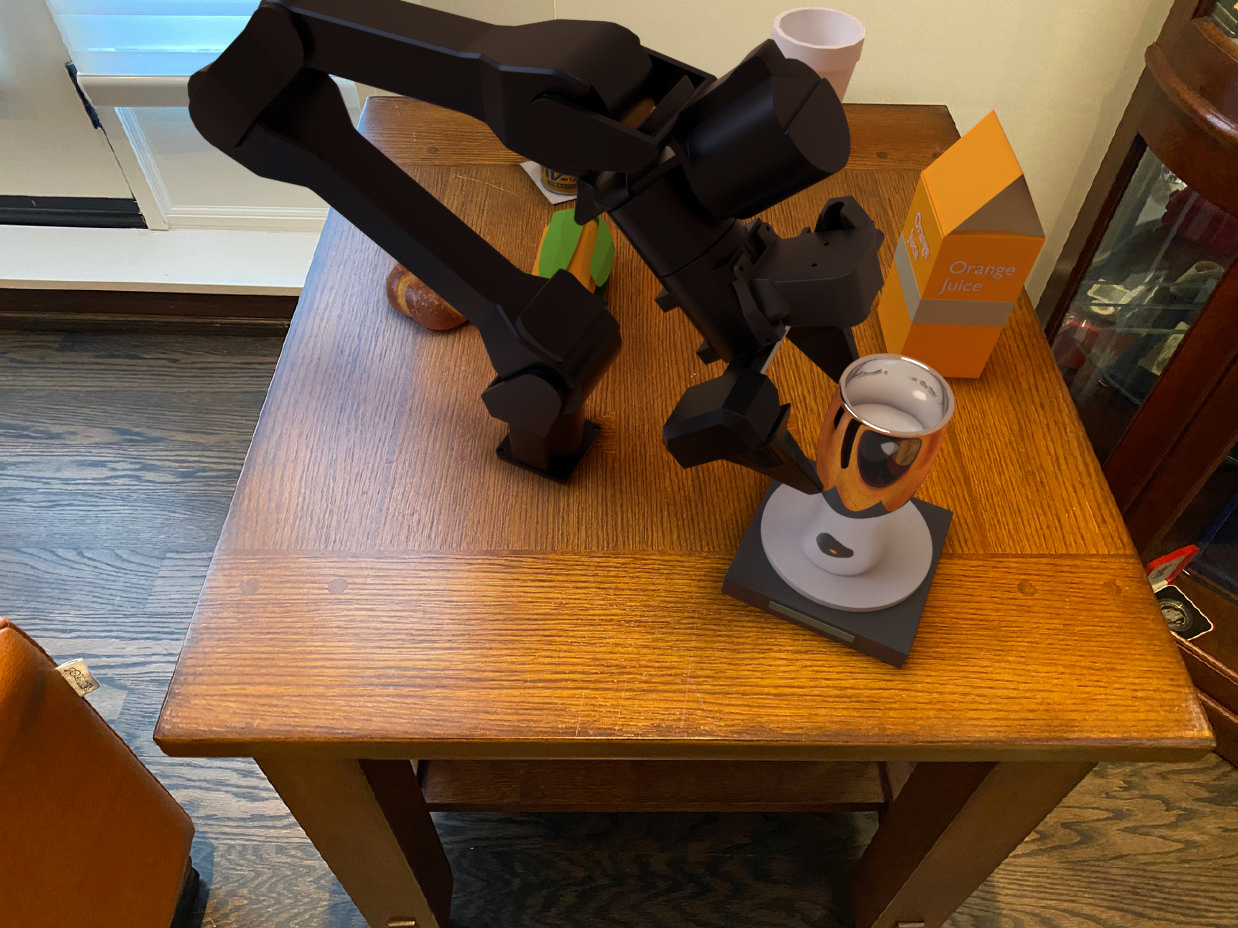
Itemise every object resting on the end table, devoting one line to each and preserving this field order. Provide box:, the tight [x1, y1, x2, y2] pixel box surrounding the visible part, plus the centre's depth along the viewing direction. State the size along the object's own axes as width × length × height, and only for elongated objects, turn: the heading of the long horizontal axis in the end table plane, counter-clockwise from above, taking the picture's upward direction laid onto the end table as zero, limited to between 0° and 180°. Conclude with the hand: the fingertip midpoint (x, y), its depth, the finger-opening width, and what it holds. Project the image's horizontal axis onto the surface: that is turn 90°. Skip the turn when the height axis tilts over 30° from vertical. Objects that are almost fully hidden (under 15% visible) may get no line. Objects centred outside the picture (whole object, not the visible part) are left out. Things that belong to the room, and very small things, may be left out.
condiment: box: [519, 160, 577, 205], centre depth 89 cm, size 7×8×12 cm
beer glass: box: [798, 352, 956, 576], centre depth 55 cm, size 7×7×15 cm
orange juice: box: [876, 108, 1047, 379], centre depth 70 cm, size 8×9×20 cm
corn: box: [531, 207, 616, 300], centre depth 77 cm, size 7×8×20 cm
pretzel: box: [385, 261, 467, 331], centre depth 80 cm, size 12×11×4 cm
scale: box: [720, 457, 954, 669], centre depth 62 cm, size 13×13×3 cm
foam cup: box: [770, 6, 867, 104], centre depth 94 cm, size 10×9×13 cm
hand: (840, 440), depth 55 cm, fingers open, 9 cm apart
